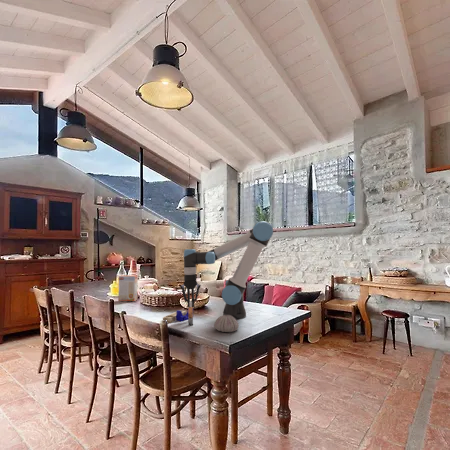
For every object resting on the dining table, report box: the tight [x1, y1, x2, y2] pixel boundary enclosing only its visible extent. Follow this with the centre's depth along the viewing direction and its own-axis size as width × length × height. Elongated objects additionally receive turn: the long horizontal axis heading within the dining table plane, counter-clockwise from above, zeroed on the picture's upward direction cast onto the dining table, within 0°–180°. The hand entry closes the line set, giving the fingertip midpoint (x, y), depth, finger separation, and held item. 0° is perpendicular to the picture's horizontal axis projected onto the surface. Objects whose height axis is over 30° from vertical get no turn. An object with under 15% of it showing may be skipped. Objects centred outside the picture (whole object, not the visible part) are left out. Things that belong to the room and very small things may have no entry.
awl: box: [187, 306, 194, 327], centre depth 170 cm, size 3×3×10 cm
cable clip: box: [175, 310, 188, 322], centre depth 184 cm, size 12×4×6 cm, turn 144°
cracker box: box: [118, 274, 139, 302], centre depth 243 cm, size 14×6×21 cm, turn 82°
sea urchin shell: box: [214, 314, 239, 333], centre depth 160 cm, size 13×14×8 cm
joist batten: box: [162, 309, 187, 324], centre depth 183 cm, size 5×20×3 cm, turn 159°
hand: (191, 312), depth 181 cm, fingers closed
